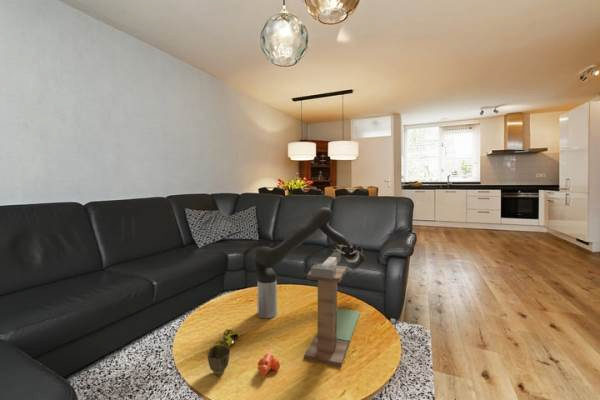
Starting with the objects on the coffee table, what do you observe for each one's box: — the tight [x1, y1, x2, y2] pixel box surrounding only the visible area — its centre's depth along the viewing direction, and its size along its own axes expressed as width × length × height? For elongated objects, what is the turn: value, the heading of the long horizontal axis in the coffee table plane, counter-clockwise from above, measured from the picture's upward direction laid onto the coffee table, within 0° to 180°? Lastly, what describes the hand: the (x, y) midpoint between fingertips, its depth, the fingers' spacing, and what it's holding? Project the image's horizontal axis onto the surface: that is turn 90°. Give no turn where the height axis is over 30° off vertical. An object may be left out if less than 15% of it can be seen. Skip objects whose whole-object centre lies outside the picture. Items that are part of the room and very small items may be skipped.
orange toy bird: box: [257, 347, 281, 379], centre depth 100 cm, size 5×8×12 cm
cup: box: [206, 344, 231, 376], centre depth 98 cm, size 8×7×8 cm
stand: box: [303, 263, 350, 368], centre depth 109 cm, size 14×14×32 cm
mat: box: [316, 307, 361, 344], centre depth 131 cm, size 27×14×1 cm, turn 159°
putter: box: [310, 251, 342, 279], centre depth 111 cm, size 24×8×3 cm, turn 159°
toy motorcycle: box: [214, 328, 241, 348], centre depth 116 cm, size 12×4×7 cm
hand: (344, 245), depth 135 cm, fingers open, 8 cm apart
